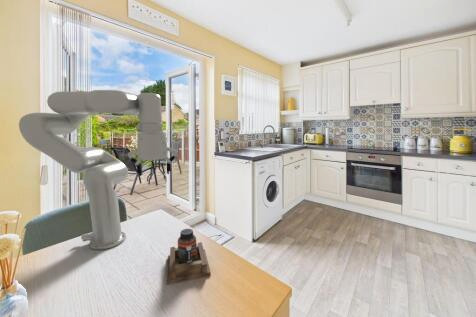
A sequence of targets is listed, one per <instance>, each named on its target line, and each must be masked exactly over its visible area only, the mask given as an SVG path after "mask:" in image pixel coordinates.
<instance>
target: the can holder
mask: <svg viewBox="0 0 476 317" xmlns="http://www.w3.org/2000/svg"><path fill="white" fill-rule="evenodd" d="M196 247H197V261H194V262H189V263H183V264H179V259H178V247H176V246H170V248H169V250H170V251H169V253H170V254H168V255H167V266H166V285H170V284H175V283H180V282H186V281H189V280H194V279H199V278H204V277H210V276H211V275H212V274H211V269H210V268H211V267H210V264H209V260H208V256H207V254H206V252H207V251H206V249H204V245H203V242H201V241H200V242H197V243H196Z"/></svg>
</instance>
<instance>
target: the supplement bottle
mask: <svg viewBox="0 0 476 317" xmlns="http://www.w3.org/2000/svg"><path fill="white" fill-rule="evenodd" d="M179 233H180V236H179V237H178V239H177V248H178V259H179V264H183V263H189V262H194V261H197V247H196V245H197V237H196V235H194V230H193V229H192V228H183V229H182V230H180V232H179Z"/></svg>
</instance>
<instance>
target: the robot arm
mask: <svg viewBox="0 0 476 317" xmlns="http://www.w3.org/2000/svg"><path fill="white" fill-rule="evenodd" d="M161 101H162V99H161V96H160V95H159V94H157V93H153V92H142V93H139V94H134V93H130V92H127V91H126V92H125V91H122V90H118V89H117V90H115V89H95V90H90V91H54V92H52V93H50V95H48V97H47V101H46V102H47V106H48V107H49V109H51V110H52V111H53V112H55V113H53V112H52V113H51V112H32V113H31V112H30V113H28V114H25V115H23V116H22V117H20V119H19V122H18V128H19V132H20V134H21V136H22V138H23V139H24V140H25V142H26V143H28V145H30V146H31V147H32V148H34V149H36V150H37V151H39V152H41V153H43V154H45V155H46V156H48V157H49V158H51V159H52V160H53V161H55V162H56V163H58V164H60V166H63V167H64V168H65V169H67V170H69V171H70V172H72V173H75V174H81V173H82V174H83V173H84V174H83V177H82V181H83V185H84V187H85V190H86V193H87V197H88V203H89V211H90V219H91V228H92V232H90V233H84V234H83V233H82V234H81V236H80V238H81V240H82V242H88V241H89V248H90V249H91V250H95V251H96V250H97V251H101V250H108V249H111V248H113V247H117V246H118V245H120V244H122V243H123V242H124V241H125V240H126V238H127V235H126V233H125V232H123V231H122V225H121V218H120V215H121V214H120V206H119V198H118V195H117V192H116V191H115V189H114V186H115V185H118V184H120V183H122V182H124V181H126V180H127V178H128V176H129V169H128V167H127V165H126V164H124V162H123V161H121V160H120V159H118V158H116V157H115V156H113V155H112V154H110V153H109V152H108V151H106V150H104V149H103V148H100V147H96V146H89V147H80V146H78V145H75V144H74V143H73V142H72V141H70V140H68V139H66V138H65V137H62V136H59V135H68V134H72V133H74V132H75V131H76V130H77V128H79V127H80V126H81V124H83V123H84V121H85V120H87V119H88V117H89V116H97V115H99V114H121V115H130V116H138V118H139V124H137V125H135V129H136V130H139V131H140V132H137V139H136V140H137V142H136V144H137V146H136V147H137V148H136V149H133V150H131V151H129V152H127V157H128V158H129V159H130V161H131V162H132V163H134V164H135V165H136V173H137V174H138V176H139V177H142V176H143V166H142V162H143V161H150V160H151V161H155V160H157V161H159V160H164V161H165V162H166V174H167V175H170V172H172V167H171V163H172V162H173V161H175V159H176V158H177V155H178V151H177V150H176V149H174V148H171V147H168V142H167V137H166V132H165V131H163V130H164V129H163V115H162V102H161ZM136 153H137V158H135V156H134V154H136ZM168 153H172V154H171V157H170V158H169V157H168Z"/></svg>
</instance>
